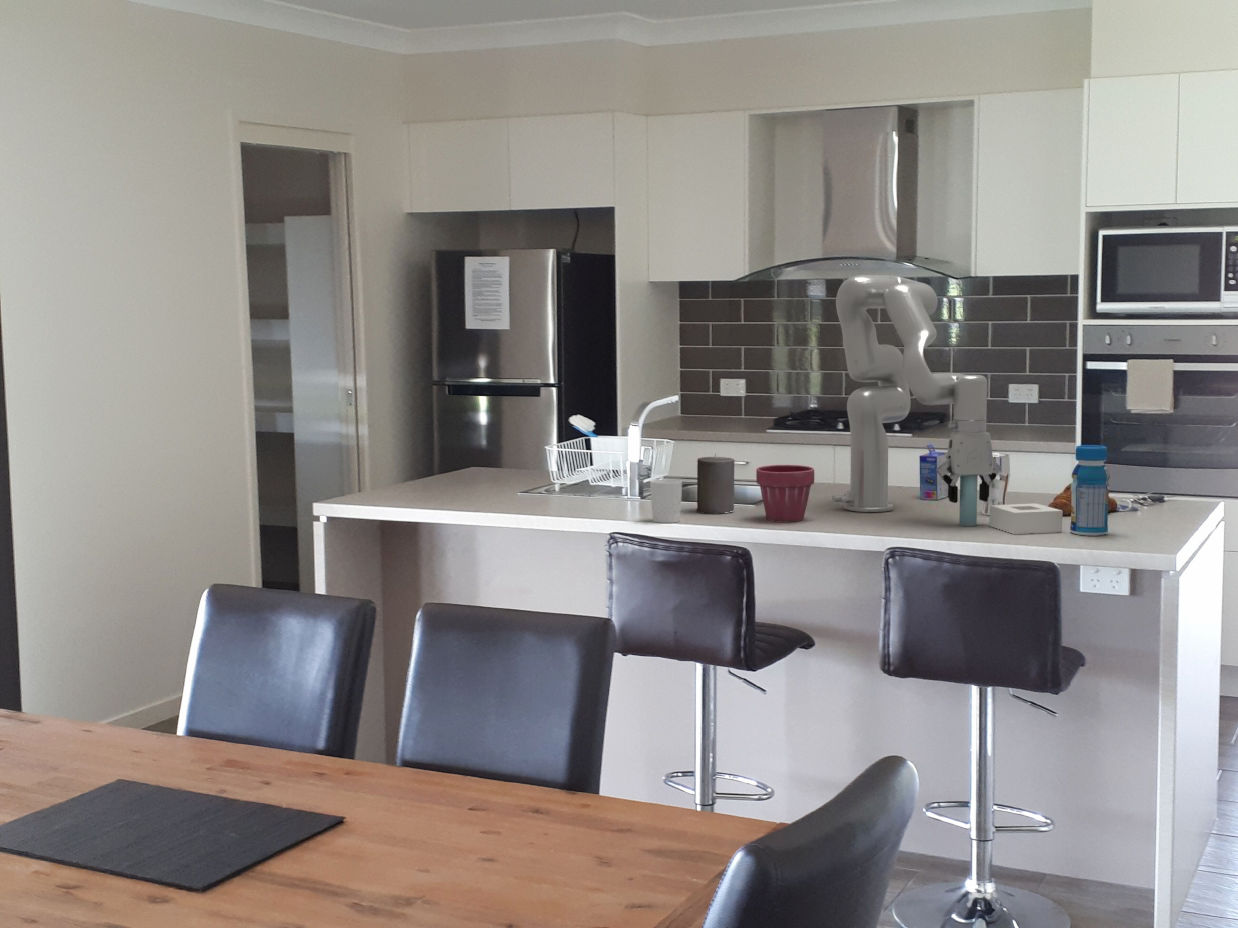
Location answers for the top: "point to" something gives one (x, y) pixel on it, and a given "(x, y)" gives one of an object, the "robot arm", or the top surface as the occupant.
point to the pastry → (1065, 500)
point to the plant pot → (785, 490)
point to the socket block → (1026, 518)
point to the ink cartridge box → (932, 475)
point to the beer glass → (998, 483)
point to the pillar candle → (715, 485)
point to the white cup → (666, 500)
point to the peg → (968, 500)
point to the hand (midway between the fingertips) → (968, 500)
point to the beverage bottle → (1090, 492)
